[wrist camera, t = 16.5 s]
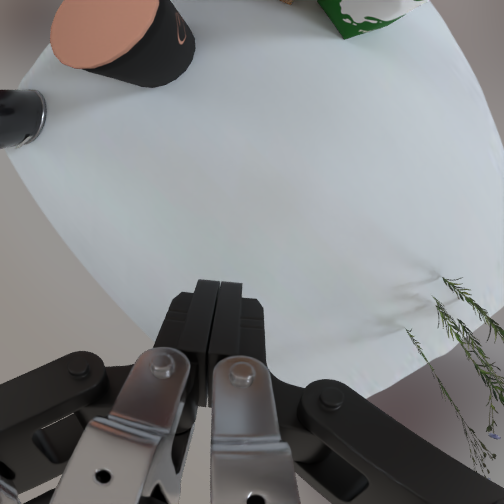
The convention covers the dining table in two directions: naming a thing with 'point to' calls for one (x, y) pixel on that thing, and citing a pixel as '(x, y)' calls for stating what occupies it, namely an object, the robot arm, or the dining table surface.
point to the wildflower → (470, 354)
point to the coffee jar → (123, 39)
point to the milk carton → (366, 14)
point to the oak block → (287, 1)
